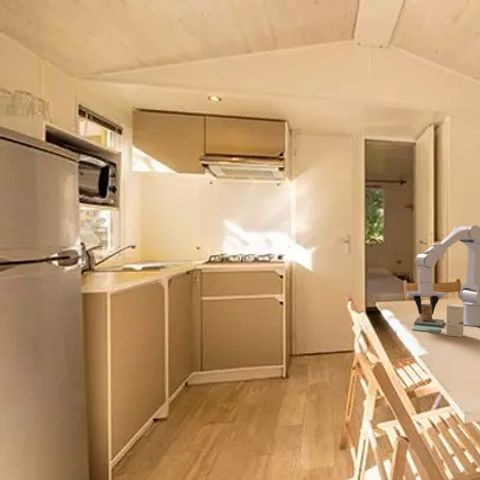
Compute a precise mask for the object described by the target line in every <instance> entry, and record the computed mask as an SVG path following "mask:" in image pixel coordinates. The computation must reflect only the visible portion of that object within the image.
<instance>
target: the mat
mask: <svg viewBox="0 0 480 480" xmlns="http://www.w3.org/2000/svg"><path fill="white" fill-rule="evenodd" d="M411 331H414V332H415V331H416V332H424V333H434V334H439V333H440V331H441V328H439V327H429V326H419V325H414V324H413V327H412V328H411Z"/></svg>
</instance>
